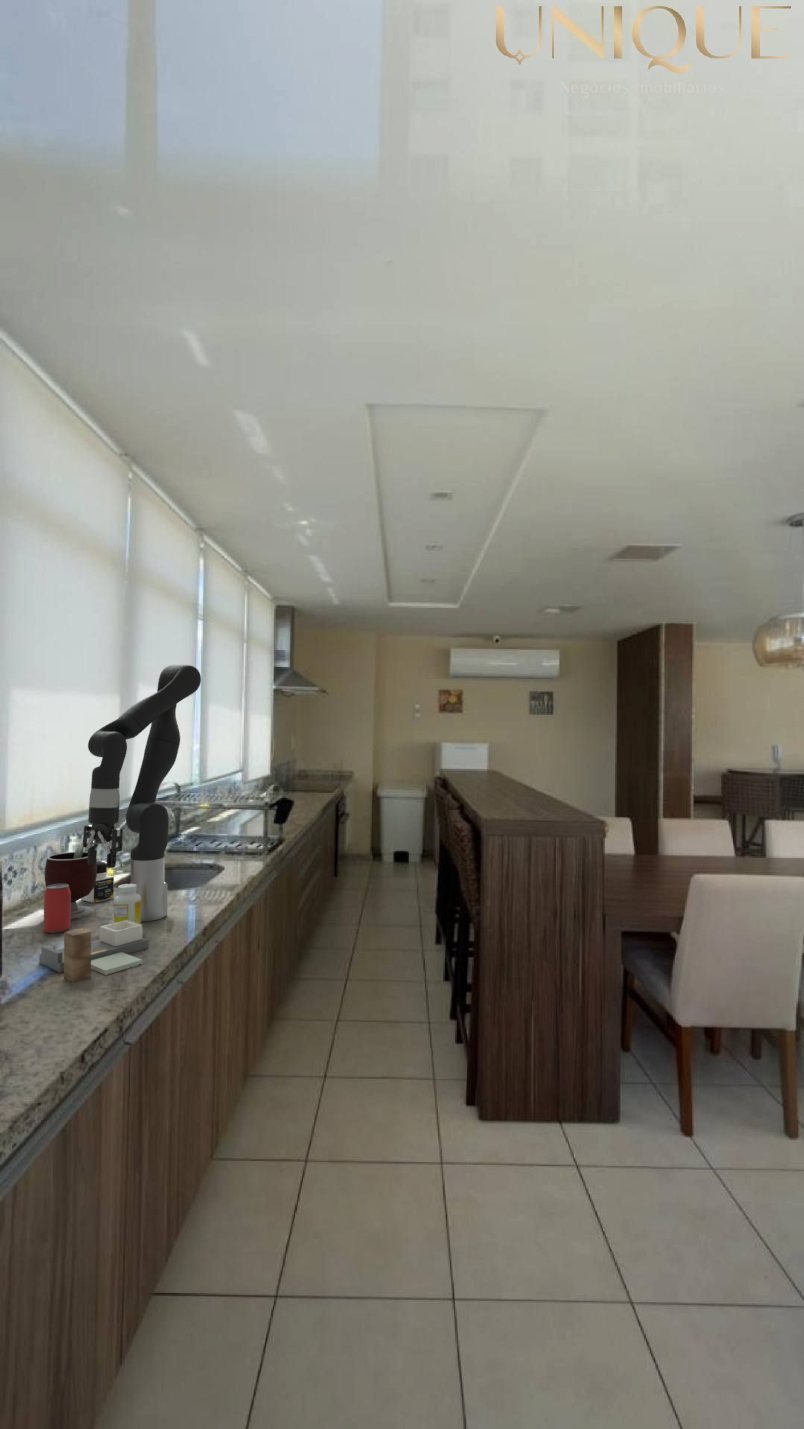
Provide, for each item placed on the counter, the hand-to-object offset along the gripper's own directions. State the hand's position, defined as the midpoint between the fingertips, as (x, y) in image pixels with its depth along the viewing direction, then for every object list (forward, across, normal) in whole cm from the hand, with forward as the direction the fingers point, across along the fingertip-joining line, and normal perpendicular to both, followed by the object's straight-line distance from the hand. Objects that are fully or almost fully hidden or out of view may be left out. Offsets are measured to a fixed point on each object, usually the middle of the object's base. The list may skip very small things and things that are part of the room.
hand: (101, 865), depth 187 cm
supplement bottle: (+18, -8, -4) cm, 20 cm away
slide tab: (+16, -17, +5) cm, 24 cm away
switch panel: (+18, -16, +11) cm, 27 cm away
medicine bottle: (+17, +33, -21) cm, 43 cm away
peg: (+19, -26, +22) cm, 39 cm away
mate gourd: (+18, +24, -8) cm, 31 cm away
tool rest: (+18, -26, +13) cm, 35 cm away
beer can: (+18, +11, +5) cm, 22 cm away
